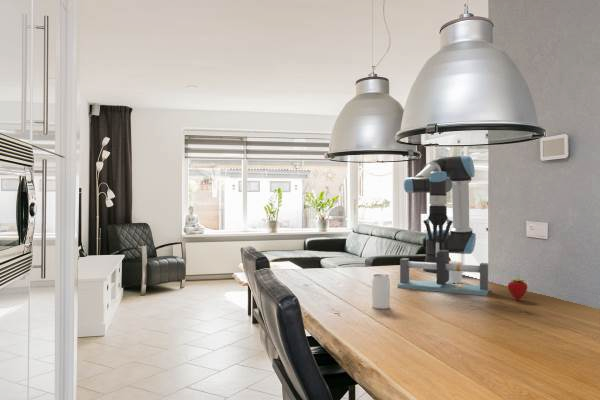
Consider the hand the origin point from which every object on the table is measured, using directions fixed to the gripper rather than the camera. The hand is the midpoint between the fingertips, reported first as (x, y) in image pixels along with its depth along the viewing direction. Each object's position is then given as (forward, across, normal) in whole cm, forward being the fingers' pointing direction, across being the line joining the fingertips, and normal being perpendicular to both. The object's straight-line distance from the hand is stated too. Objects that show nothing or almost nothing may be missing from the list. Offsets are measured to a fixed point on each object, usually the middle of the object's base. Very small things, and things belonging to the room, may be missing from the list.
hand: (437, 256), depth 207 cm
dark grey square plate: (+11, +2, 0) cm, 12 cm away
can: (+15, -12, -48) cm, 52 cm away
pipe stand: (+14, +2, 0) cm, 15 cm away
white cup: (+15, +4, +19) cm, 24 cm away
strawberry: (+15, +33, -10) cm, 38 cm away
